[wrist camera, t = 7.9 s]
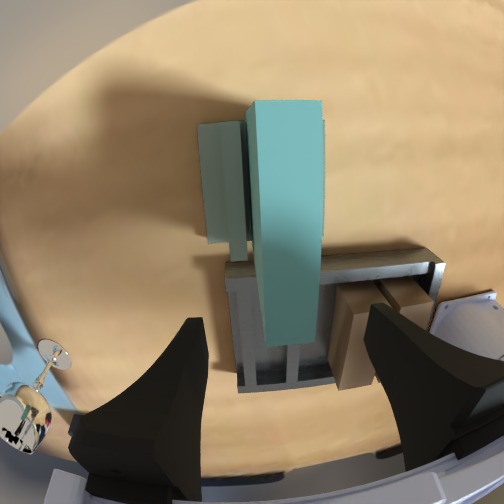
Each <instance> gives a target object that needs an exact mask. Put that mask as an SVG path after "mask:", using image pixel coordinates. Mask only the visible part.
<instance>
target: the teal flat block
mask: <svg viewBox="0 0 504 504" xmlns="http://www.w3.org/2000/svg"><path fill="white" fill-rule="evenodd" d="M245 122H246V140H247V157H248V175H249V193H250V210H251V228H252V246H253V254H254V262H255V269H256V277H257V284H258V292H259V299H260V307H261V314H262V322H263V329H264V337H265V345H266V347H272V346H283V345H293V344H303V343H311V342H315V333H316V322H317V310H318V297H319V283H320V266H321V246H322V218H323V121H322V101H318V100H262V101H254V102H253V104H252V105H251V106H250V107H249V109H248V110H247V111H246V112H245Z"/></svg>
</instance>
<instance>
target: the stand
mask: <svg viewBox="0 0 504 504" xmlns="http://www.w3.org/2000/svg"><path fill="white" fill-rule="evenodd" d="M322 121H323V218H322V236H324V208H325V120H322ZM197 132H198V145H199V158H200V169H201V180H202V191H203V201H204V211H205V221H206V230H207V239H208V243H223V242H229V246H230V257H231V261H245V260H248V255H247V241H252V228H251V210H250V193H249V175H248V157H247V140H246V122H245V121H240V120H239V121H224V122H218V123H207V124H197Z"/></svg>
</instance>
